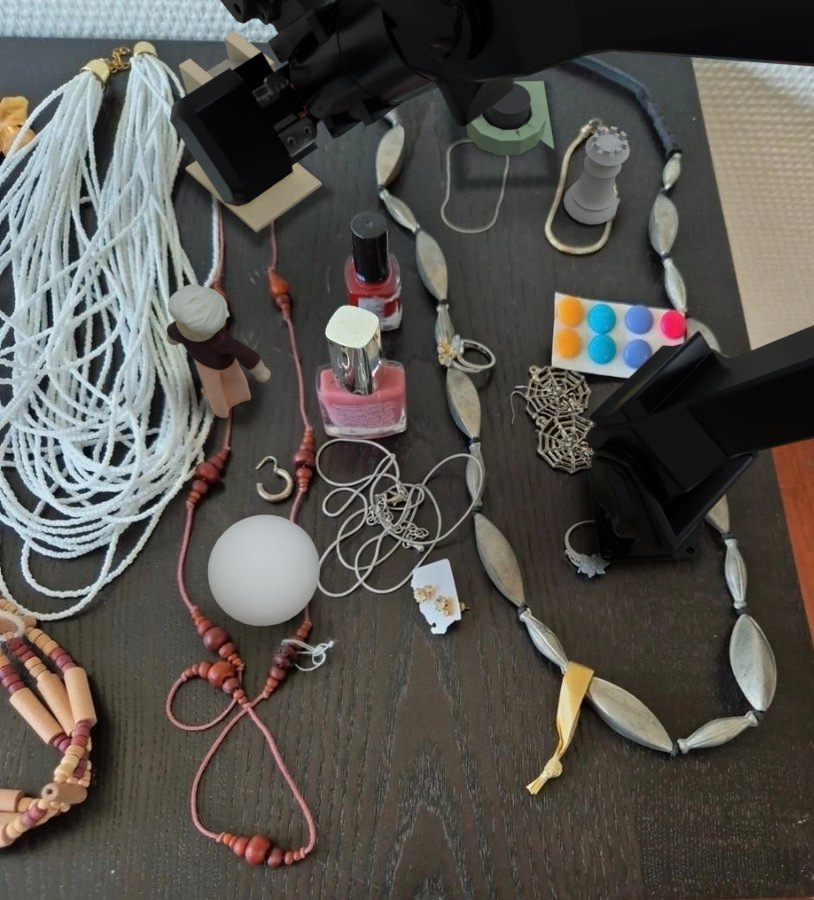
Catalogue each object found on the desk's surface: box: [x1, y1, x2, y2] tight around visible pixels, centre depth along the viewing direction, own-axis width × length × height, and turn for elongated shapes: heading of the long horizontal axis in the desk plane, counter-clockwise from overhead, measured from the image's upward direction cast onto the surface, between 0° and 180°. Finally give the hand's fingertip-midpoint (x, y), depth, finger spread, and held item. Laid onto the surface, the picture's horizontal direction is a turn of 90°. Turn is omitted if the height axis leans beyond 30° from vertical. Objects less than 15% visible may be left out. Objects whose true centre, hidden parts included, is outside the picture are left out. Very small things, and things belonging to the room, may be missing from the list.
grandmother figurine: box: [166, 283, 271, 419], centre depth 51 cm, size 8×4×13 cm, turn 76°
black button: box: [484, 83, 531, 130], centre depth 65 cm, size 4×4×2 cm
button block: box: [465, 80, 555, 157], centre depth 67 cm, size 11×8×2 cm
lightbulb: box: [207, 514, 321, 627], centre depth 46 cm, size 6×6×11 cm
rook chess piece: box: [563, 125, 631, 226], centre depth 60 cm, size 4×4×8 cm
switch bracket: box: [178, 30, 323, 233], centre depth 60 cm, size 9×7×12 cm
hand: (278, 105), depth 53 cm, fingers closed on switch lever, 3 cm apart
